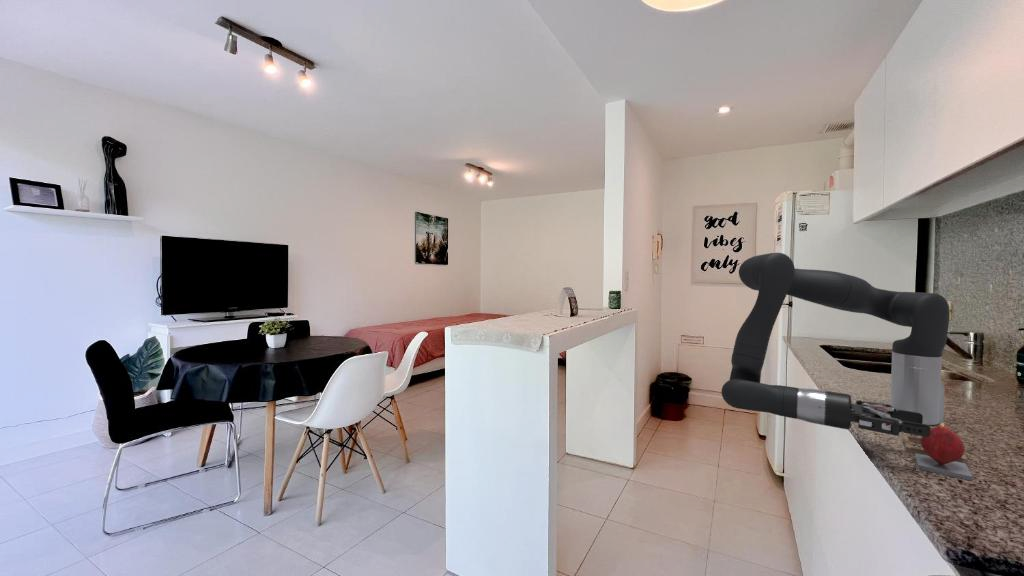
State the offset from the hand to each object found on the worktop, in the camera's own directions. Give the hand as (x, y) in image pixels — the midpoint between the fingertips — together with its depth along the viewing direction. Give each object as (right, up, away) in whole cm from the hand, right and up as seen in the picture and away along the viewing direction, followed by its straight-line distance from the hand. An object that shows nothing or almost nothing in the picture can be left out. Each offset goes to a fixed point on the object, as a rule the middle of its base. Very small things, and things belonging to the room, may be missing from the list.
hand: (926, 424), depth 80 cm
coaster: (+2, -8, -1) cm, 8 cm away
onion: (+2, -7, -1) cm, 8 cm away
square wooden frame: (+8, -8, +7) cm, 13 cm away
